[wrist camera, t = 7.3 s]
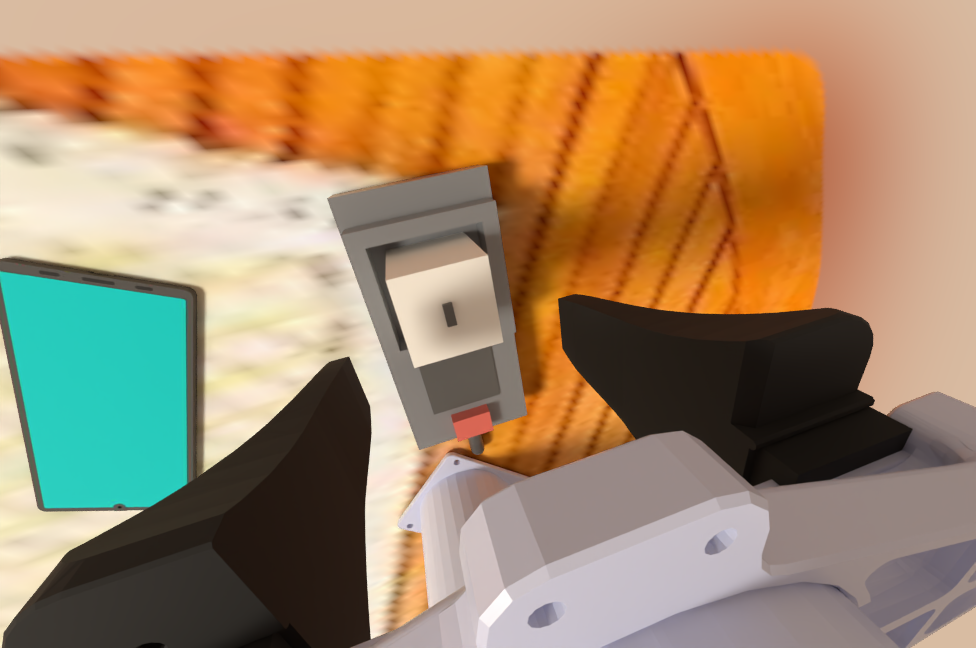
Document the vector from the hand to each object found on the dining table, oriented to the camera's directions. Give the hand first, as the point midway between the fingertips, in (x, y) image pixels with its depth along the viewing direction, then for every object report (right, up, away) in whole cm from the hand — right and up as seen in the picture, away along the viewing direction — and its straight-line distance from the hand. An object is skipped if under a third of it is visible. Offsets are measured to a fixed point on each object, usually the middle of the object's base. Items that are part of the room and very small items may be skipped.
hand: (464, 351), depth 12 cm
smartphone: (-20, -3, +8) cm, 21 cm away
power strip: (-2, 0, +11) cm, 11 cm away
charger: (-2, +3, +7) cm, 8 cm away
